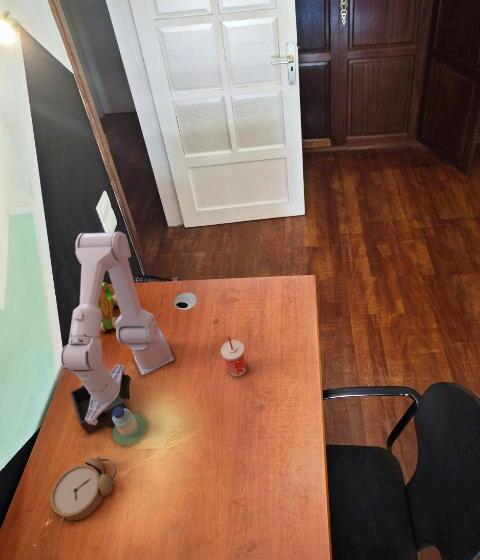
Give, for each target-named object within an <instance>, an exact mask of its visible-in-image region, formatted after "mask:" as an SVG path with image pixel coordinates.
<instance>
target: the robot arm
mask: <svg viewBox="0 0 480 560" xmlns="http://www.w3.org/2000/svg"><path fill="white" fill-rule="evenodd" d="M74 248H75V257H76V258H77V260H78V262H79V264H80V265H81V268H80V291H79V305H78V306H76V307H75V308H74V309H73V310H72V316H71V323H70V330H69V337H68V343H67V344H66V345H64V346H63V348H62V350H61V353H60V361H61V364H62V369H63V370H64V371H67V372H68V371H69V372H71V374H73V375H76V377H77V378H78V379H79V380H80V382H81V383H82V386H83V385H84V386H85V388H86V389H87V390H88V392H89V394H90V395H91V399H90V404H89V409H88V412H87V414H86V418H85V420H86V421H87V423H88V424H93V425H96V424H97V422H99V423H101V424H103V425H105V426H104V427H106V428H109V429H112V430H113V429H114V428H115V423H114V422H113V420H112V414H111V413H106V412H105V411H104V410H105V409H106V408H107V407H108V406H109V405H110V404H111V403H112V402H113V401H114V400H115V399H116V397H117V396H118V395H119V396H120V397H121V398H122V399H125V400H128V401H130V400H131V393H130V384H131V381H132V377H131V376H130V375H128V374H126V372H127V369H126V367H125V365H123V364H116V365H115V366H114V368H112V370H111V371H109V368H107V366H106V365H105V363H104V361H103V355H104V354H103V347H102V340H101V339H100V332H101V330H100V325H101V317H102V312H101V311H100V309H99V308H98V301H99V297H100V292H101V287H102V283H104V278H105V273H106V272H107V271H108V272H107V273H108V275H109V279H110V282H111V284H112V289H113V291H114V294H115V295H116V299H117V302H118V308H119V312H120V315H118V316H117V320H116V323H115V326H116V329H115V330H116V331H115V335H116V340H117V342H118V343H119V344H120V345H125V346H126V347H127V348H129V349H130V351H131V352H132V354H133V358H134V360H135V363H136V366H137V367H138V370H139V372H140V374H141V376H146V375H148V374H149V373H151V372H153V371H155V370H157V369H159V368H161V367H162V366H165V365H167V364H169V363H171V362H173V361H174V360H175V357H174V356H173V354H172V351H171V347H170V345H169V343H168V342H167V340H166V338H165V335H164V334H163V331H162V330H161V329H160V325H159V323H158V322H157V321H156V318H155V316H154V314H153V313H151V312H149V311H147V310H145V309H143V308H142V306H141V303H140V299H139V295H138V291H137V288H136V285H135V280H134V278H133V277H134V276H133V274H132V270H131V266H130V261H129V259H130V258H131V257H132V254H131V248H130V244H129V241H128V237H127V235H126V233H124V232H121V231H115V232H113V231H112V232H89V233H88V232H80V233H78V235H77V237H76V240H75V244H74Z"/></svg>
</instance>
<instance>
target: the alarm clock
mask: <svg viewBox="0 0 480 560" xmlns="http://www.w3.org/2000/svg"><path fill="white" fill-rule="evenodd" d="M103 462H110V463H111V464H112V466H113V472H112V476H110V475H109V474H107V473H105V472H104V470H105V465H104V463H103ZM95 468H97V469H98V470H100V471H98V470H96V469H95ZM117 471H118V470H117V466H116V464H115V462H114V461H112V459H110V458H104V457H103V458H101V457H100V456H98V457H89V458H87V459H86V460H85V461H84V464H78V465H75V466H71V467H70V468H69V469H67V470H65V471H64V472H63V473H62V474H61V475H60V476H59V477H58V478H57V480H56V481H55V483H54V485H53V487H52V489H51V492H50V495H49V496H48V498H49V501H50V505H51V508H52V510H53V512H54V513H55V514H57V515H59V516H61V519H60V524H62V523H64V521H65V520H67V521H79V520H82V519H85V518H87V516H89V515H91V514H92V513H93V512H94V511H95V510H96V509H97V508H98V507H99V505H100V503H101V502H102V501H103V498H104V497H107V496H108V495H110V493H111V492H112V491H113V489H114V485H115V482H114V480H115V478H116V476H117Z"/></svg>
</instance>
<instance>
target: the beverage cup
mask: <svg viewBox="0 0 480 560" xmlns="http://www.w3.org/2000/svg"><path fill="white" fill-rule="evenodd" d="M227 339H228V341H226V342H224V344H222V346H221V348H220V355H221V357H222V358H223V359H224V361H225V364H226V366H227V369H228V371H229V373H230V375H231V376H233V377H241V376H243V375H245V373H246V371H247V365H246V364H247V363H246V357H245V345H244V344H243V343H242V342H241V341H239V340H237V339H232V340H231V336H228V337H227Z"/></svg>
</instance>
